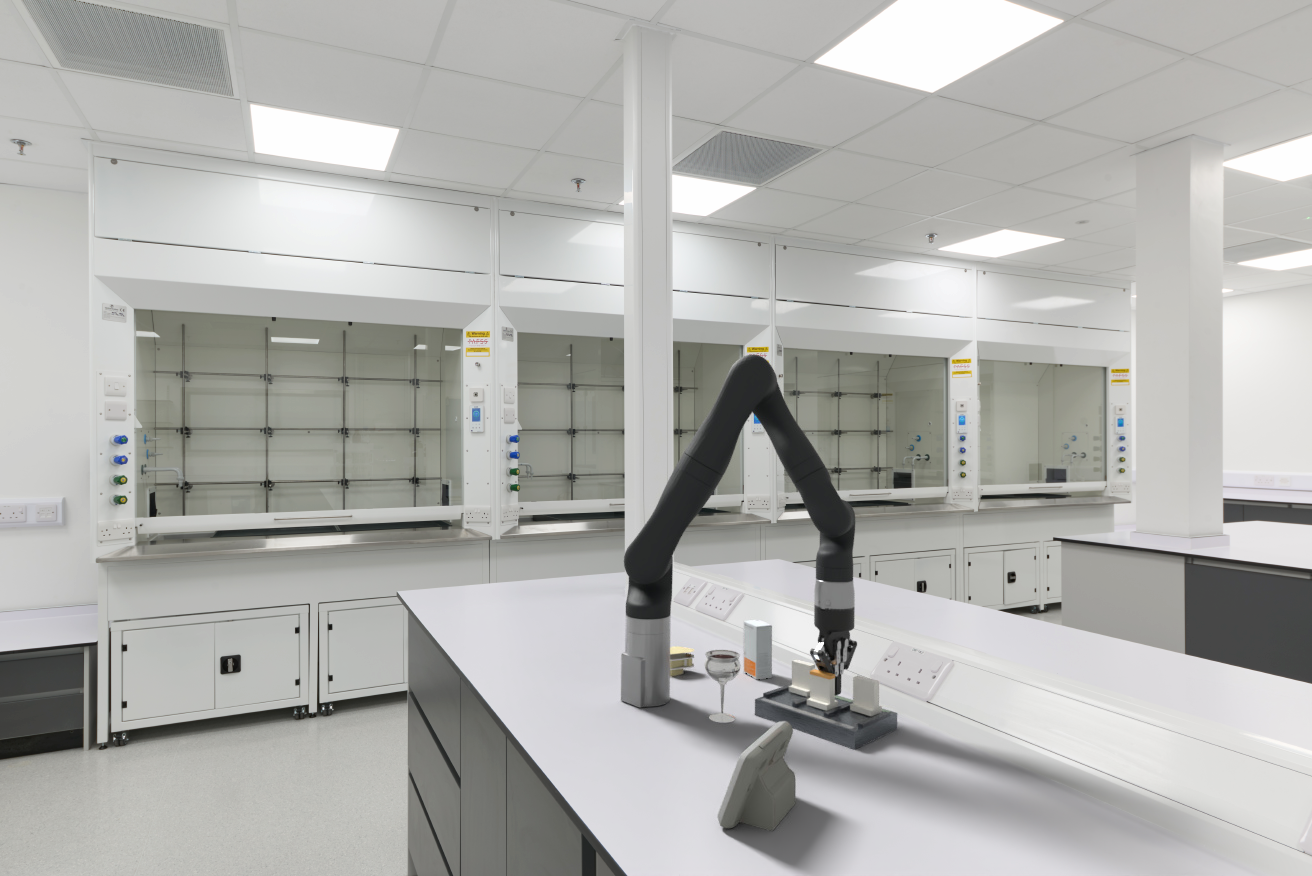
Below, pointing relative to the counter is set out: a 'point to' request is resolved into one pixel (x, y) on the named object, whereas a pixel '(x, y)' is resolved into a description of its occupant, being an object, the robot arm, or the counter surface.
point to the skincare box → (757, 649)
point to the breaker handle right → (865, 696)
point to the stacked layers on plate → (680, 660)
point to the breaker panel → (825, 718)
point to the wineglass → (722, 675)
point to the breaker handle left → (801, 677)
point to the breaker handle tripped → (822, 690)
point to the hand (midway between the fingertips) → (833, 694)
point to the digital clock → (761, 783)
